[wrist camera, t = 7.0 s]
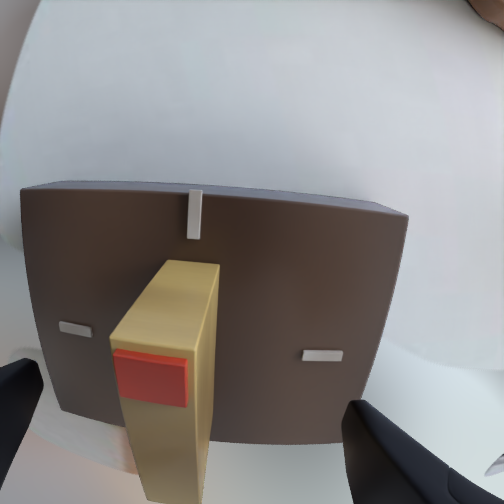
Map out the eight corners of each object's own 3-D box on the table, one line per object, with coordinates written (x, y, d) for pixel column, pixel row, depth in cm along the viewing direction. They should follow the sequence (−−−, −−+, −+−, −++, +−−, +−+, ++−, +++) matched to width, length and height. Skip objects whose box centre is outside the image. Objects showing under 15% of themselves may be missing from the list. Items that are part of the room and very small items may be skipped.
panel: (84, 376, 14) (59, 414, 11) (61, 178, 12) (16, 186, 8) (330, 402, 15) (343, 447, 12) (376, 199, 12) (412, 213, 9)
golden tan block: (213, 411, 11) (200, 515, 6) (172, 406, 11) (145, 506, 6) (220, 263, 9) (194, 357, 5) (166, 259, 9) (102, 343, 5)
